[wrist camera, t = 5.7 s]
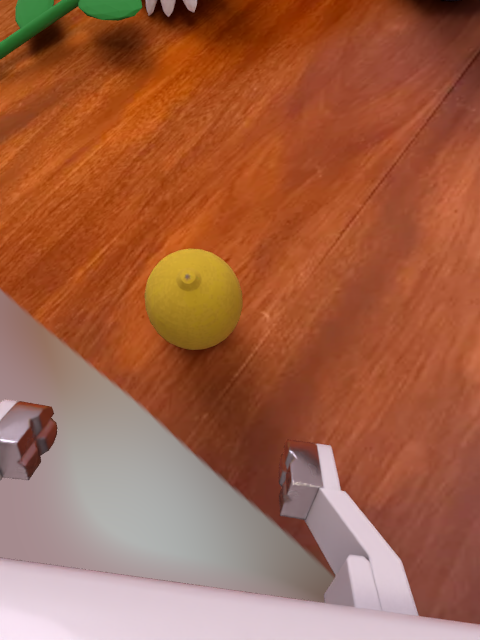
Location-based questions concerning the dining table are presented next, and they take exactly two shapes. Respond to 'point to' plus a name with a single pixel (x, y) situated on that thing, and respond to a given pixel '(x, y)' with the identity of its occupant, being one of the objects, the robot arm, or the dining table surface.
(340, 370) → the dining table surface
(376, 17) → the dining table surface
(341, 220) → the dining table surface
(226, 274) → the lemon
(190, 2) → the decorative flower
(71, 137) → the dining table surface
